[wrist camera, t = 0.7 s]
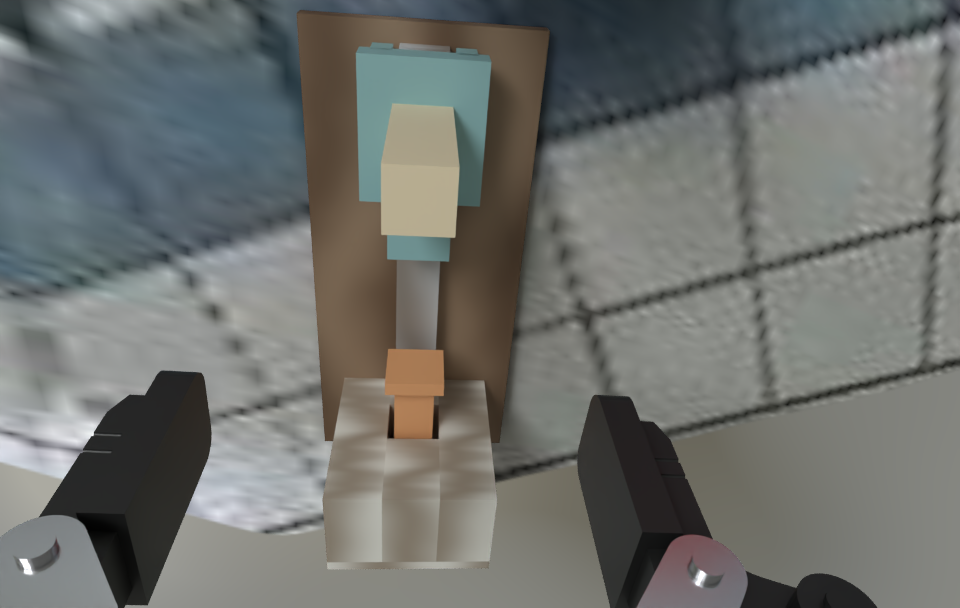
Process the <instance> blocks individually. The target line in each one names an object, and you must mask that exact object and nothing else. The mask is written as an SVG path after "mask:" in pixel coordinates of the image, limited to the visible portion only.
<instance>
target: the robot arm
mask: <svg viewBox="0 0 960 608" xmlns="http://www.w3.org/2000/svg"><path fill="white" fill-rule="evenodd" d="M211 435H212V434H211V423H210V416H209V409H208V401H207V394H206V387H205V380H204V376H203V374H202V373H199V372H181V371H160V372H159V373H158V374H157V376H156V377H155V379H154V381H153V383H152V384H151V386H150V388H149V389H148V391H147V393H146V394H145V395H129V396H127V397H126V398H125V399H123V400H122V401H121V402H120V403H118V404H117V405H116V406H114V407H113V408H112V409H110V410H109V411H108V412H107V413H106V414H105V416H104V417H103V419H102V421H101V422H100V424H99V425H98V427H97V428H96V430H95V431H94V436H91V438H90V439H89V441H88V442H87V444H86V445H85V447H84V448H83V453H80V455H79V456H78V458H77V459H76V461H75V462H74V464H73V465H72V467H71V469H70V470H69V472H68V473H67V475H66V476H65V478H64V479H63V481H62V483H61V484H60V486H59V487H58V489H57V490H56V492H55V493H54V495H53V496H52V498H51V500H50V501H49V503H48V505H47V506H46V508H45V509H44V510H43V512H42V513H41V515H40V516H39V518H35V519H32V520H29V521H27V522H24V523H22V524H20V525H18V526H16V527H14V528H13V529H11V530H9V531H8V532H6V533H5V534H4V535H2V536H1V537H0V608H124V607H125V605H148V603H149V601H150V598H151V596H152V593H153V591H154V588H155V586H156V583H157V581H158V579H159V576H160V574H161V571H162V569H163V567H164V564H165V562H166V559H167V557H168V554H169V552H170V549H171V547H172V544H173V542H174V540H175V537H176V535H177V532H178V530H179V528H180V525H181V523H182V520H183V518H184V516H185V513H186V511H187V508H188V506H189V503H190V501H191V499H192V496H193V494H194V491H195V489H196V486H197V484H198V482H199V479H200V477H201V474H202V472H203V469H204V467H205V465H206V462H207V459H208V456H209V452H210V447H211ZM577 464H578V475H579V480H580V483H581V488H582V492H583V496H584V500H585V505H586V509H587V513H588V517H589V521H590V525H591V529H592V533H593V538H594V542H595V546H596V550H597V554H598V558H599V562H600V566H601V570H602V574H603V579H604V583H605V586H606V591H607V595H608V599H609V603H610V608H877V607H876V605H875V604H874V603H873V602H872V601H871V599H870V598H869V597H868V596H867V595H866V594H865V593H863V592H862V591H861V590H860V589H858V588H857V587H855V586H854V585H852V584H851V583H849V582H847V581H845V580H843V579H841V578H839V577H836V576H832V575H829V574H811V575H809V576H806V577H804V578H803V579H802V580H801V581H800V583H799V584H798V586H797V588H794V587H791V586H788V585H784V584H781V583H778V582H775V581H771V580H768V579H765V578H762V577H759V576H756V575H754V574H751V573H749V572H747V571H745V569H744V567H743V565H742V563H741V562H740V560H739V559H738V558H737V556H736V555H735V554H734V553H733V552H732V551H731V550H729V549H728V548H727V547H726V546H724V545H723V544H721V543H719V542H718V541H715V540H713V538H712V536H711V534H710V532H709V529H708V527H707V525H706V522H705V520H704V518H703V515H702V513H701V511H700V508H699V506H698V504H697V502H696V499H695V497H694V494H693V492H692V490H691V487H690V485H689V483H688V480H687V479H685V473H684V471H683V469H682V466H681V464H680V463H678V457H677V455H676V452H675V450H674V448H673V445H672V443H671V441H670V439H669V438H668V437H667V436H666V435H665V434H664V433H663V432H662V431H661V429H660V428H659V427H658V426H657V425H656V424H655V423H654V422H646V421H640V419H639V417H638V414H637V412H636V409H635V407H634V404H633V402H632V400H631V398H630V397H628V396H609V395H594V396H593V397H592V399H591V402H590V406H589V410H588V414H587V417H586V421H585V425H584V429H583V433H582V437H581V441H580V445H579V449H578V463H577Z"/></svg>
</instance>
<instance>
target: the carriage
mask: <svg viewBox="0 0 960 608" xmlns="http://www.w3.org/2000/svg"><path fill="white" fill-rule="evenodd" d="M490 73H491V59H490V57H489V55H480V54H478V52H477V49H465V48H456V53H450V52H435V51H420V50H405V49H393V44H390V43H376V42H372V44H371V46H370V47H360V46H359V48H358V50H357V52H356V77H357V120H358V163H359V201H366V202H381V235H387V259H393V260H421V261H448V262H449V254H450V238H455V234H456V217H457V206H478V207H480V197H481V185H482V172H483V160H484V148H485V135H486V123H487V110H488V98H489V86H490Z"/></svg>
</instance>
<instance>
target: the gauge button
mask: <svg viewBox="0 0 960 608" xmlns="http://www.w3.org/2000/svg"><path fill="white" fill-rule="evenodd" d="M385 395H395V397H394V439H432V428H433V408H434V396H444V358H443V350H417V349H388V356H387V367H386V377H385Z"/></svg>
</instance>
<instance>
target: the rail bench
mask: <svg viewBox="0 0 960 608" xmlns="http://www.w3.org/2000/svg"><path fill="white" fill-rule="evenodd" d="M297 27H298V42H299V57H300V72H301V87H302V102H303V117H304V132H305V147H306V162H307V177H308V192H309V207H310V222H311V237H312V252H313V267H314V282H315V297H316V312H317V327H318V342H319V357H320V372H321V388H322V403H323V418H324V433H325V441H333V445H332V450H331V456H330V461H329V467H328V472H327V478H326V483H325V489H324V495H323V512H324V526H325V539H326V552H327V566H328V569H442V568H443V569H445V568H447V569H448V568H489V561H490V553H491V545H492V536H493V530H494V522H495V514H496V506H497V494H496V484H495V475H494V466H493V456H492V447H491V443H499V442H500V434H501V426H502V417H503V409H504V401H505V393H506V385H507V377H508V369H509V360H510V352H511V344H512V336H513V328H514V320H515V312H516V303H517V295H518V287H519V279H520V271H521V263H522V255H523V246H524V238H525V230H526V222H527V214H528V206H529V198H530V190H531V181H532V173H533V165H534V157H535V149H536V141H537V133H538V124H539V116H540V108H541V100H542V92H543V84H544V76H545V67H546V59H547V51H548V43H549V35H550V31H549V30H548V28H544V27H530V26H516V25H502V24H488V23H474V22H460V21H446V20H432V19H418V18H404V17H390V16H376V15H362V14H347V13H333V12H319V11H305V10H300V11H299V12H298V13H297ZM372 42H376V43H390V44H393V49H405V50H420V51H435V52H450V53H456V48H465V49H477V52H478V54H480V55H489V57H490V59H491V73H490V86H489V98H488V110H487V123H486V135H485V148H484V160H483V172H482V185H481V197H480V207H478V206H457V217H456V234H455V238H450V254H449V262H448V261H421V260H393V259H387V235H381V202H366V201H359V163H358V120H357V77H356V52H357V50H358V48H359V46H360V47H370V46H371V44H372ZM388 349H417V350H443V358H444V396H434V408H433V428H432V439H394V397H395V395H385V377H386V367H387V356H388Z"/></svg>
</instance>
